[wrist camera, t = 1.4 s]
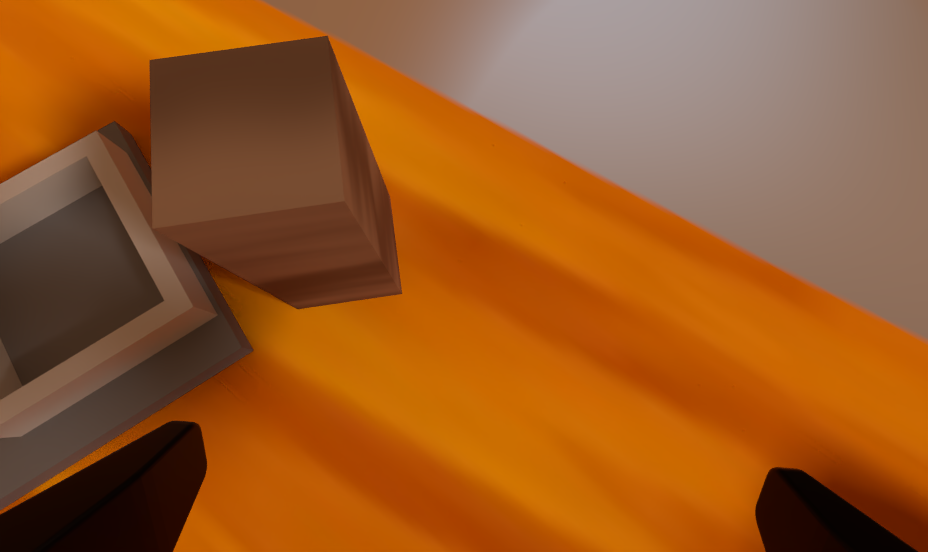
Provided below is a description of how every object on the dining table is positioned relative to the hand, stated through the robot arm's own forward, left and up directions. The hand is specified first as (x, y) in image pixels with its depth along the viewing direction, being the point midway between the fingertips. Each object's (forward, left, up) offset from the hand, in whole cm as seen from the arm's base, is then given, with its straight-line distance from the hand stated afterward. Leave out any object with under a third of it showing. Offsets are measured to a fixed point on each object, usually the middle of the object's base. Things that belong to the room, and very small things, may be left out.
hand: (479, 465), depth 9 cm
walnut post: (-3, +9, -14) cm, 17 cm away
